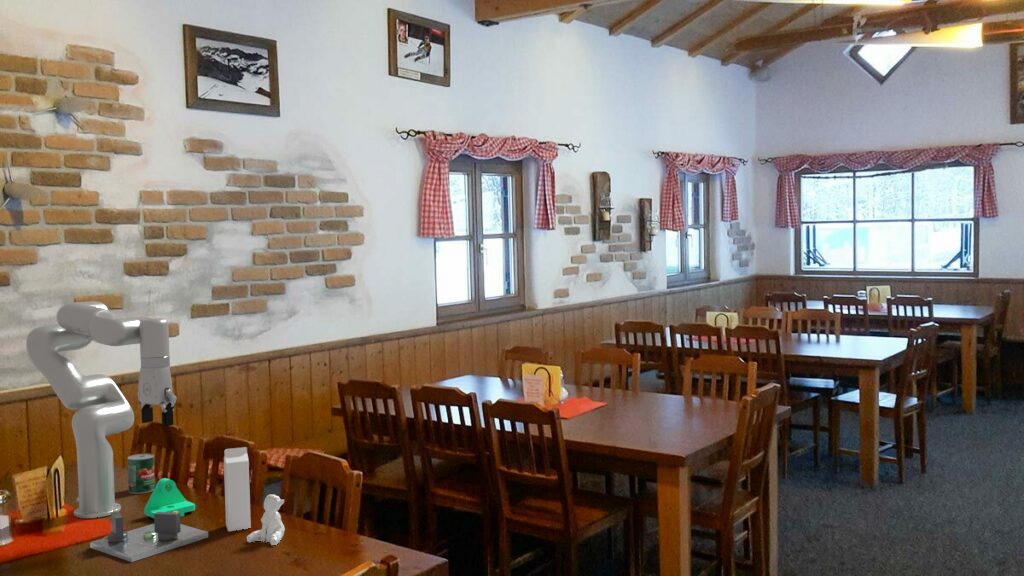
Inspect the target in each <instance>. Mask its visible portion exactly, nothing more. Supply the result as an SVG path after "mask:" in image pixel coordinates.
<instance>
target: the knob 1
mask: <svg viewBox="0 0 1024 576" xmlns="http://www.w3.org/2000/svg"><path fill="white" fill-rule="evenodd" d="M110 517H111V519H110V520H111V521H110V522H111V524H110V525H111V532H109V533H108V534H107V536H108V542H111V543H116V542H122V541H125V540H127V539H128V532H127V531H126V530H124V517H123V516H122V514H121V513H120V511H119V512H118V511H117V510H113V512H112V513H111V515H110Z"/></svg>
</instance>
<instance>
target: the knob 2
mask: <svg viewBox="0 0 1024 576" xmlns="http://www.w3.org/2000/svg"><path fill="white" fill-rule="evenodd" d="M153 520H154V521H153V524H154V526H155V533H158V540H160V541H169V540H173V539H176V538H177V537H178V533H179V532H181V528H180V524H181V517H180V513H178V511H174V512H173V513H172V512H157V513H155V514H154V518H153Z"/></svg>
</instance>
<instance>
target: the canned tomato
mask: <svg viewBox="0 0 1024 576" xmlns="http://www.w3.org/2000/svg"><path fill="white" fill-rule="evenodd" d="M127 475H128V476H127V479H128V483H127V484H128V493H130V494H131V495H134V494H135V495H138V494H139V495H141V494H142V495H143V494H146V493H147V494H148V493H151V492H153V491H154V489H155V487H156V477H155V476H156V475H155V455H154V454H152V453H137V454H132V455H130V456H128V457H127Z"/></svg>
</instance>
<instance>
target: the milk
mask: <svg viewBox="0 0 1024 576" xmlns="http://www.w3.org/2000/svg"><path fill="white" fill-rule="evenodd" d="M223 452H224V456H223V477H224V479H223V480H224V501H225V503H224V504H225V505H224V507H225V526H226V529H227V532H233V531H234V532H235V531H236V530H237V531H243V530H242V529H244V530H249V529H248V528H252V526H251V523H252V522H251V521H252V520H251V519H252V518H251V496H250V493H251V492H250V469H249V468H250V461H249V455H248V447H246V446H245V447H234V448H226V449H225V450H224V451H223Z"/></svg>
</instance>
